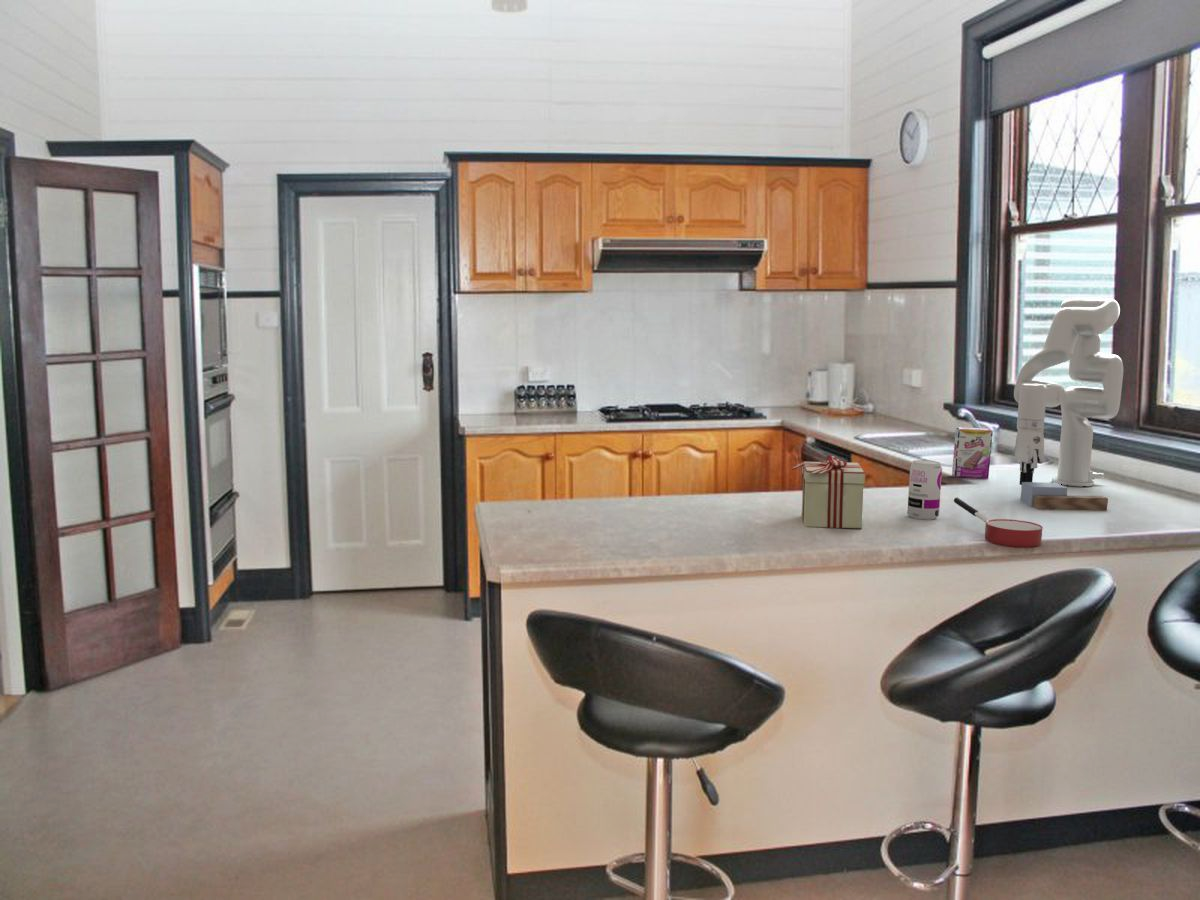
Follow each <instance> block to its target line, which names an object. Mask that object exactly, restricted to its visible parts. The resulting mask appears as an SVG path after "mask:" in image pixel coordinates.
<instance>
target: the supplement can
mask: <svg viewBox="0 0 1200 900" xmlns="http://www.w3.org/2000/svg"><path fill="white" fill-rule="evenodd" d="M909 468H910V469H909V479H908V480H909V483H908V497H907V498H908V499H907V513H906V514H907V515H908V517H910V518H911V519H916V520H923V521H928V520H930V521H931V520H936V519H937V518H938V517H939V516H940V503H941V487H942V477H943V476H942V475H943V467H942V466H941V462H939V461H935V460H927V459H926V460H925V459H924V460H923V459H921V460H919V459H917V460H913V461H912V463H911V464H910V466H909Z"/></svg>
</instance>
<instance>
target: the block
mask: <svg viewBox="0 0 1200 900" xmlns="http://www.w3.org/2000/svg"><path fill="white" fill-rule="evenodd" d="M1020 488H1021V489H1020V498H1019V499H1020V501H1022V502H1023V503H1022V502H1021V503H1022V504H1024V503H1025V505H1026V504H1027V505H1026V506H1029V507H1031V508H1034V507H1033V501H1034V495H1068V487H1067V486H1066V485H1061V484H1058V483H1053V482H1040V481H1039V482H1038V481H1036V482H1035V481H1032V482H1022V485H1021V487H1020Z"/></svg>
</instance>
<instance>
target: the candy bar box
mask: <svg viewBox="0 0 1200 900" xmlns="http://www.w3.org/2000/svg"><path fill="white" fill-rule="evenodd" d="M993 432H994V431H993V429H990V428H984V427H983V428H980V427H960V426H958V427H957V426H956V427H955V432H954V433H955V435H954V443H953V445H954V446H953V457H952V458H953V459H952V469H951V475H952V476H953V477H954V478H959V479H963V478H965V479H982V480H985V479H986V480H988V479H989V475H990V462H991V452H992V442H993Z"/></svg>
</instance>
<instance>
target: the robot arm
mask: <svg viewBox="0 0 1200 900" xmlns="http://www.w3.org/2000/svg"><path fill="white" fill-rule="evenodd" d="M1120 312H1121V308H1120V304H1119V303H1118V301H1117V300H1115V299H1113V298H1104V297H1072V298H1071V297H1070V298H1067V299H1065V300H1063V301H1062V303H1061V304H1060V309H1059V308H1058V310H1057V311H1056V312H1055V313H1054V316H1053V319H1052V321H1051V325H1050V327H1049V329H1048V333H1047V337H1046V340H1045V343H1044V345H1043V348H1042V349H1041V350H1040V351H1039V352H1037V353H1036V354H1034V355H1033V356H1032V357H1030V359H1028V360H1027V362H1025V363H1024V365H1022V367H1021V368H1020V371H1019V373H1018V375H1017V378H1016V381H1015V385H1014V388H1013V398H1014V400H1015V402H1016V403H1018V409H1017V422H1016V429H1017V433H1016V437H1015V439H1016V440H1015V446H1014V457H1015V459H1016V460H1017V463H1018V464H1019V472H1020V473H1019V485H1020V486H1022V482H1033V478H1034V473H1035V469H1037V468H1038V464H1043V463H1044V459H1045V457H1044V456H1045V437H1044V430H1045V429H1044V428H1045V418H1046V417H1045V416H1046V408H1056V407H1058V406H1060V412H1061V426H1060V427H1061V429H1060V441H1059V453H1058V467H1057V476H1055V477H1052V478H1051V483H1058V484H1060V485H1061V484H1062V486H1067V485H1068V487H1069V486H1070V487H1083V486H1086V487H1093V486H1094V485H1095V481H1093V480H1095V479H1098V480H1104V479H1105V473H1104V472H1095V471H1094V470H1091V461H1092V450H1093V449H1092V448H1093V440H1094V439H1093V437H1094V429H1093V426H1092V424H1091V423H1090V421H1089V419H1088V418H1093V419H1094V418H1097V419H1106V420H1107V419H1108V420H1109V419H1110V420H1111V419H1113V418H1115V417H1116V416H1117V414H1118V413H1119V410H1120V406H1121V398H1122V388H1123V379H1124V364H1123V360H1122V358H1121V357H1120V356H1119V355H1117V354H1113V353H1102V352H1101V341H1102V340H1101V339H1102V338H1101V334H1103V333H1104V332H1106V331H1107V330H1108V329H1110V328H1111V327H1113V326H1114V325H1115V324H1116V322H1117V321H1118V319H1119V316H1120ZM1067 361H1069V364H1068V365H1069V366H1068V375H1069V378H1070V379H1071V380H1072V381H1073V382H1074V381H1075V382H1078V383H1086V384H1087V383H1088V384H1100V385H1102V386H1103V388H1101V387H1094V386H1093V387H1092V386H1081V385H1080V386H1079V385H1076V386H1068V387H1067V388H1065V389H1064V387H1063V386H1062V384H1060V383H1059V382H1058V383H1057V382H1051V381H1040V380H1039V381H1038V380H1034V378H1035V377H1036V375H1038V374H1039V373H1040V372H1042V371H1044V370H1046V369H1048V368H1052V367H1054V366H1057V365H1060V364H1063V363H1066V362H1067Z"/></svg>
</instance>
